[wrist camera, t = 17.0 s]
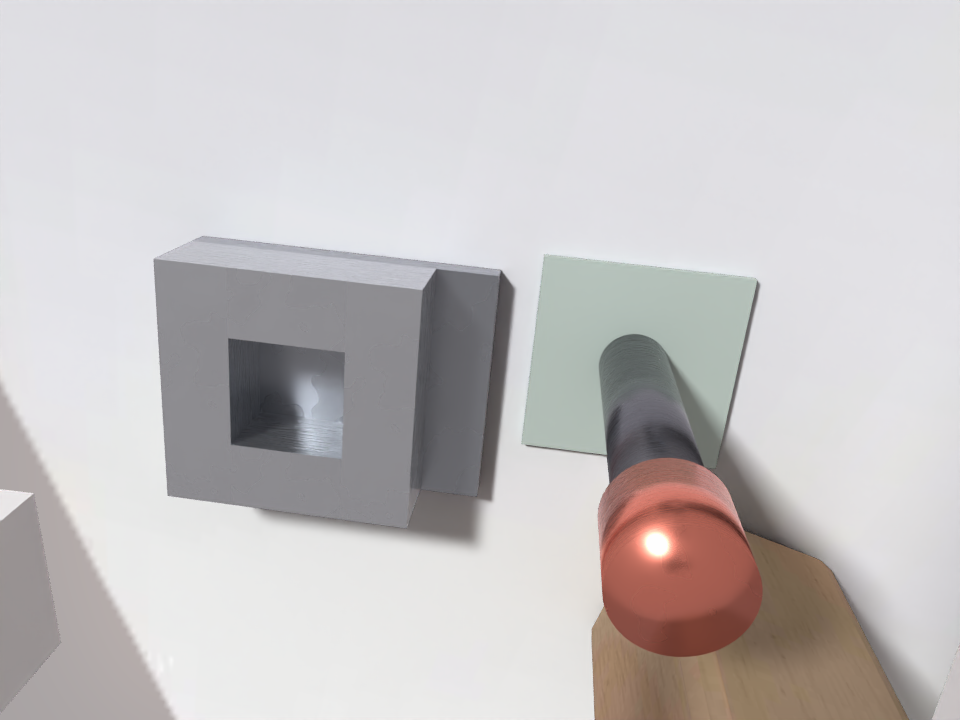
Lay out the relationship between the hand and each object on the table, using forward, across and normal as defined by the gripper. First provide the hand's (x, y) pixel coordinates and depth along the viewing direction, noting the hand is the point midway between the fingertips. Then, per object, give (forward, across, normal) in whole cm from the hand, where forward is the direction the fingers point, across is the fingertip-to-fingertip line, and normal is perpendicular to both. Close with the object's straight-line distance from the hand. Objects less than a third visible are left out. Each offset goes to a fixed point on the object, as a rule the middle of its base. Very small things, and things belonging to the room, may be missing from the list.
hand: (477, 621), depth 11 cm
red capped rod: (+28, +5, -7) cm, 29 cm away
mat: (+28, +5, -7) cm, 29 cm away
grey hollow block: (+28, -10, -8) cm, 31 cm away
